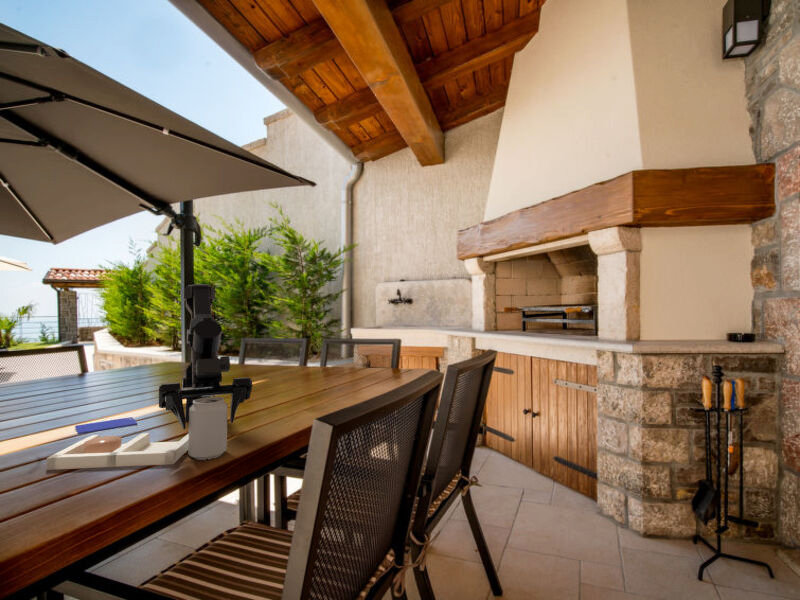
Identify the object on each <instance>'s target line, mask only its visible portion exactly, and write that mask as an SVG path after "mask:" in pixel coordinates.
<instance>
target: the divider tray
mask: <svg viewBox="0 0 800 600" xmlns="http://www.w3.org/2000/svg"><path fill="white" fill-rule="evenodd" d="M150 435H151V434H150V432H142V433H140V434H138V435H137V436H135V437H134V438H132V439H131V440H129V441H128V442H126V443H121V447H120V448H118V449H116V450H115V451H113V452H111V453H87V454H84V442H86V441H88V440H91V439H94V438H98V437H101V436H100V434H92V435H89V436H87V437H86V438H83V439H81V440H80V441H78V442H75V443H73V444H72V445H69V446H67V447H66V448H64V449H62V450H60V451H58V452H56V453H53V454H52V455H50V456H47V458H46V471H51V470H70V469H71V470H73V469H74V470H75V469H92V468H93V469H95V468H115V467H117V468H119V467H137V466H159V465H174V464H175V463H176V462H177V461H178V460H179V459H180V458H182V457H183V456H184V454H186V453H188V452H187V451H188V442H189V432H188V433H187V434H186V435H185V436H184V437H182V438H181V439H180V440H178V441H159V442H150Z"/></svg>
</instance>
